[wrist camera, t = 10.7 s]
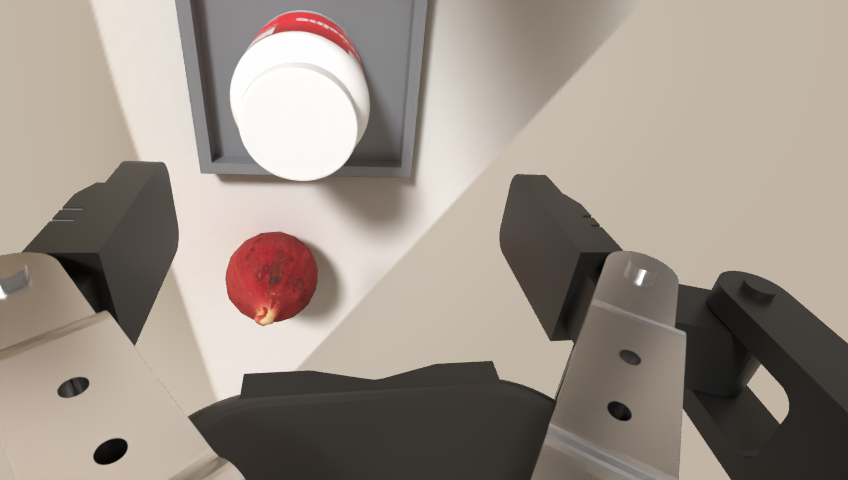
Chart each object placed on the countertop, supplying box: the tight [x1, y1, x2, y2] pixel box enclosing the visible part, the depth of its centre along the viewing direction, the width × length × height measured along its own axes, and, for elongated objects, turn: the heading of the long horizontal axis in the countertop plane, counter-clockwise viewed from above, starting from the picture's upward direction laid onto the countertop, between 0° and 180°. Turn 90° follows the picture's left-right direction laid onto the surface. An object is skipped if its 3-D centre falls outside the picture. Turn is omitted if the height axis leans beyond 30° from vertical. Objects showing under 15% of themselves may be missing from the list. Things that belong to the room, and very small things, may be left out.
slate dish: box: [175, 0, 428, 178], centre depth 28 cm, size 13×13×2 cm
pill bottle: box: [230, 10, 370, 181], centre depth 24 cm, size 6×6×11 cm
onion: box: [226, 232, 318, 326], centre depth 32 cm, size 6×6×8 cm
